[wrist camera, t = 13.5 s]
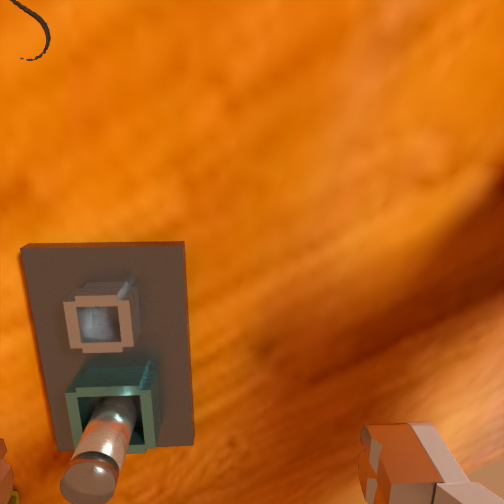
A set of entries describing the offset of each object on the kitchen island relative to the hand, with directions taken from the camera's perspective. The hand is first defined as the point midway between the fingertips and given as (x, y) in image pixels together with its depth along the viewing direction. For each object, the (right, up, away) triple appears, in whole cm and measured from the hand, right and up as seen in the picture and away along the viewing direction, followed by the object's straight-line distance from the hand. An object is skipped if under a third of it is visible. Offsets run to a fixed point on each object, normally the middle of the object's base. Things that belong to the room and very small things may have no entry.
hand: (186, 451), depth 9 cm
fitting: (-12, -10, +30) cm, 34 cm away
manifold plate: (-12, -5, +30) cm, 33 cm away
